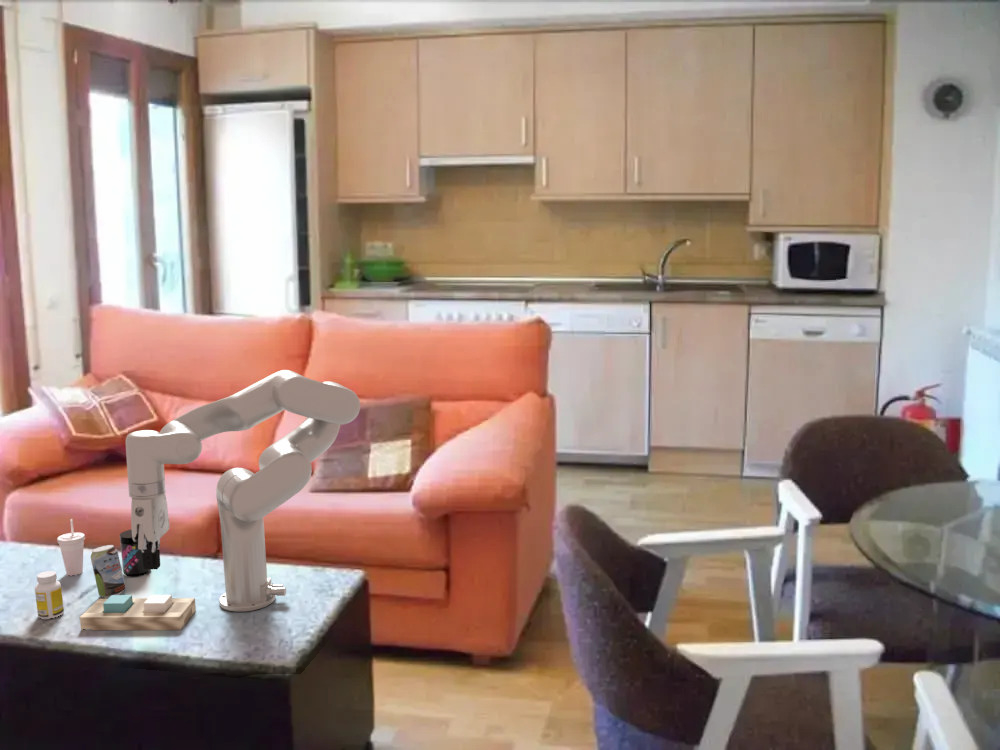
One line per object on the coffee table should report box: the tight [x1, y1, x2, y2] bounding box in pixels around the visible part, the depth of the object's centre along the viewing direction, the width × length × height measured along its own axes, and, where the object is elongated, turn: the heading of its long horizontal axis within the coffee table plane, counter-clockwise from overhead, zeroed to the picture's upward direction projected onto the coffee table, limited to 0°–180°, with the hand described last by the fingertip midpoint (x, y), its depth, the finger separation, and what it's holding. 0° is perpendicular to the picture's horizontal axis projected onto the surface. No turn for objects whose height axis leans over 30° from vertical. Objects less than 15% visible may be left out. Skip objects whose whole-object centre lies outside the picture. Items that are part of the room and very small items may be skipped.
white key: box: [144, 594, 173, 613], centre depth 220 cm, size 5×5×3 cm
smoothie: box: [56, 518, 86, 577], centre depth 248 cm, size 6×6×14 cm
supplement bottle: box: [34, 570, 65, 620], centre depth 224 cm, size 5×5×10 cm
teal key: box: [103, 594, 133, 613], centre depth 221 cm, size 5×5×3 cm
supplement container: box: [119, 528, 152, 578], centre depth 248 cm, size 7×7×10 cm
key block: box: [79, 597, 197, 631], centre depth 221 cm, size 22×10×3 cm, turn 88°
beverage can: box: [90, 544, 126, 599], centre depth 234 cm, size 6×7×12 cm
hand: (152, 567), depth 218 cm, fingers closed
